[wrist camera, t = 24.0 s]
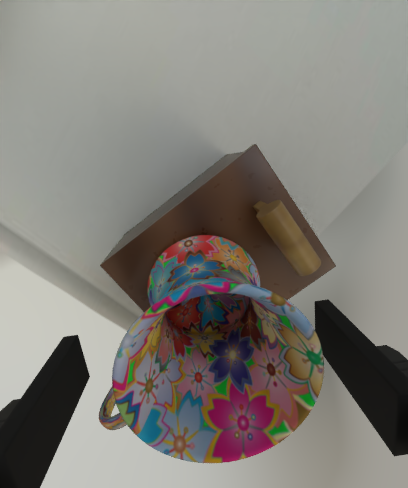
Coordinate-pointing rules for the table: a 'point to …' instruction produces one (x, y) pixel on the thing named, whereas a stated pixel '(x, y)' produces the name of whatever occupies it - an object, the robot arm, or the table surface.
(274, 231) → the lid
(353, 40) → the table surface
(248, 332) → the floral cup
